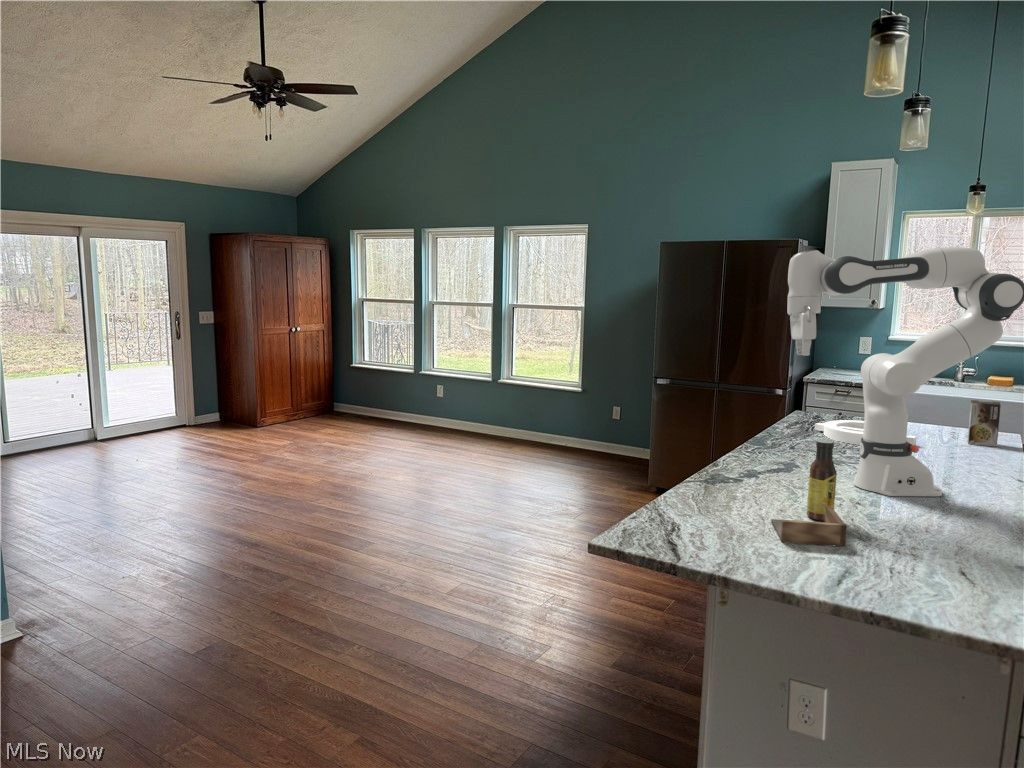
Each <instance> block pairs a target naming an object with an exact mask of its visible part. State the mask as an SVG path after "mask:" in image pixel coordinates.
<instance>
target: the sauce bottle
mask: <svg viewBox="0 0 1024 768" xmlns="http://www.w3.org/2000/svg"><path fill="white" fill-rule="evenodd" d="M815 444H816V445H815V447H816V451H815V452H816V453H815V454H816V455H815V460H813V461H812V463H811V465H810V468H809V476H808V489H807V505H806V511H807V513H806V515H807V516H808V518H810V519H813V520H816V521H821V522H822V521H824V522H825V509H826V506H829V507H832V509H833V510H834V511H835V501H836V488H837V487H836V486H837V485H836V484H837V475H838V474H837V473H838V472H837V470H836V468H835V463H834V459H833V453H834V452H833V451H834V447H835V441H833V440H829V439H827V440H826V439H818V440H816V443H815Z"/></svg>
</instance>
